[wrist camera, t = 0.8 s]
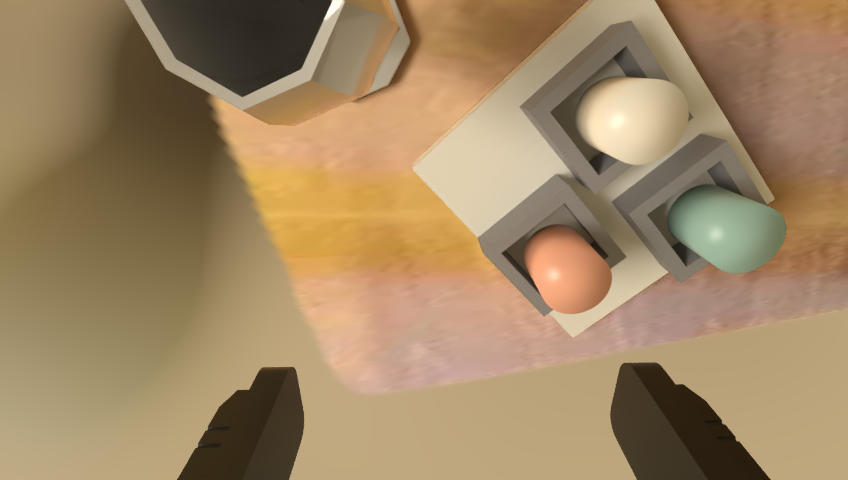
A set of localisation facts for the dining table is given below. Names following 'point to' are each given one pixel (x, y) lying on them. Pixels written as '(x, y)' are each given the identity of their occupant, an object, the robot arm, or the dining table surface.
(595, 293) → the coral button
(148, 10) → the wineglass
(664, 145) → the ivory button
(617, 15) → the console
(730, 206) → the mint green button
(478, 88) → the dining table surface
